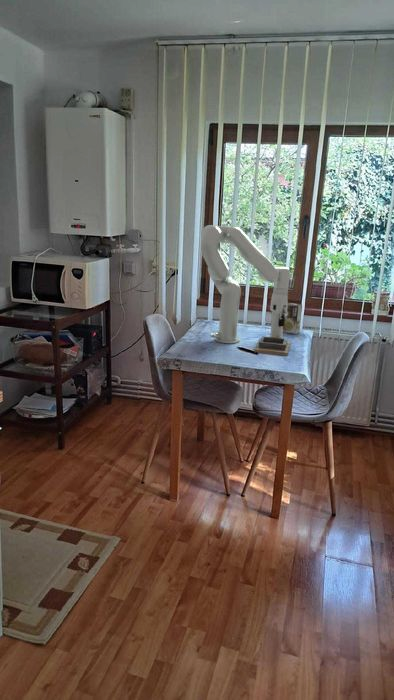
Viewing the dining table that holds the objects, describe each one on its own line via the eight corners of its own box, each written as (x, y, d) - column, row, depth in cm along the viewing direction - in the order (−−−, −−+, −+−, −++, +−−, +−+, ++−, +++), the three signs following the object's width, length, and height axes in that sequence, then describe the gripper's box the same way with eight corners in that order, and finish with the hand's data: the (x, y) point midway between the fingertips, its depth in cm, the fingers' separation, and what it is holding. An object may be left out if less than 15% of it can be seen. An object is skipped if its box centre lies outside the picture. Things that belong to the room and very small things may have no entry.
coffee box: (300, 332, 280) (302, 304, 276) (295, 334, 275) (298, 306, 271) (285, 329, 285) (287, 302, 280) (280, 331, 280) (283, 303, 275)
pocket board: (287, 355, 233) (288, 347, 232) (254, 352, 236) (254, 344, 235) (290, 344, 253) (291, 336, 252) (259, 341, 257) (260, 333, 256)
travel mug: (279, 342, 256) (283, 305, 250) (268, 340, 259) (271, 303, 253) (284, 340, 261) (288, 303, 255) (272, 337, 264) (276, 301, 259)
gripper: (265, 288, 259) (263, 321, 264) (283, 294, 244) (280, 329, 249) (277, 288, 262) (275, 320, 267) (296, 293, 247) (292, 328, 252)
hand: (277, 324), depth 258 cm, fingers closed on travel mug, 6 cm apart
